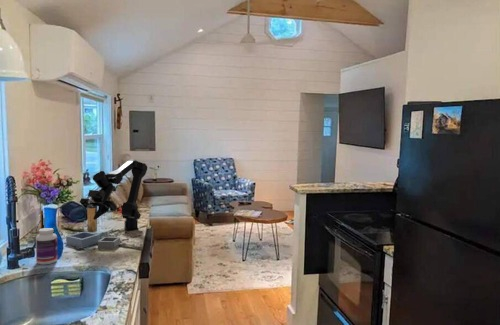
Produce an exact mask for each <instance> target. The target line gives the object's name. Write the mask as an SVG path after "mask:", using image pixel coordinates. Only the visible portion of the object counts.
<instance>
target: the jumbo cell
mask: <svg viewBox="0 0 500 325" xmlns="http://www.w3.org/2000/svg"><path fill="white" fill-rule="evenodd" d="M86 211H87V219H86V220H87V222H86V223H87V227H86V228H87V231H86V232H90V233H96V232H98V218H97V219H96V220H94V216H95V214H96V213H97V211H98V206H97V205H87V208H86Z"/></svg>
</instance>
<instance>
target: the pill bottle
mask: <svg viewBox="0 0 500 325" xmlns="http://www.w3.org/2000/svg"><path fill="white" fill-rule="evenodd" d="M38 232H39V233H38V235H36V237H35V260H36V263H37V264H38V265H41V266H42V265H45V266H46V265H50V264H54V263H56V262H57V261H58V236H57V234H56V232H55V233H53V232H54V229H53V228H42V229H41V228H40V229H39V230H38Z"/></svg>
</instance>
